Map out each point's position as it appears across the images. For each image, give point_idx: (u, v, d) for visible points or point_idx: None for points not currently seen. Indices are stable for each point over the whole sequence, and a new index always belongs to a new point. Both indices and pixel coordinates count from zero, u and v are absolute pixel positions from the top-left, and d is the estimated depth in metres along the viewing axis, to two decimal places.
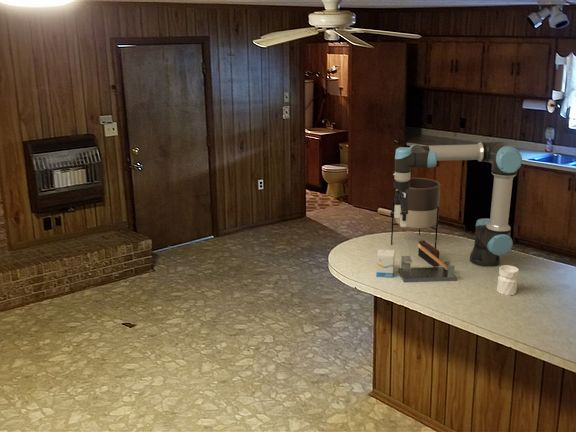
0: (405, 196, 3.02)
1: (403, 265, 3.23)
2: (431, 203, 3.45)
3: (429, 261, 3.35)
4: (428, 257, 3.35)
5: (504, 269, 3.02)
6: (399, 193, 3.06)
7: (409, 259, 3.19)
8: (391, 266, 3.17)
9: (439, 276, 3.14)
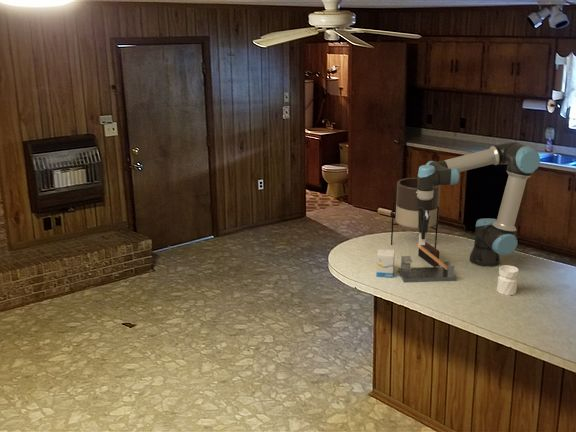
0: (427, 218, 3.01)
1: (403, 265, 3.23)
2: None
3: (429, 261, 3.35)
4: (428, 257, 3.35)
5: (504, 269, 3.02)
6: (422, 212, 3.04)
7: (409, 259, 3.19)
8: (391, 266, 3.17)
9: (439, 276, 3.14)
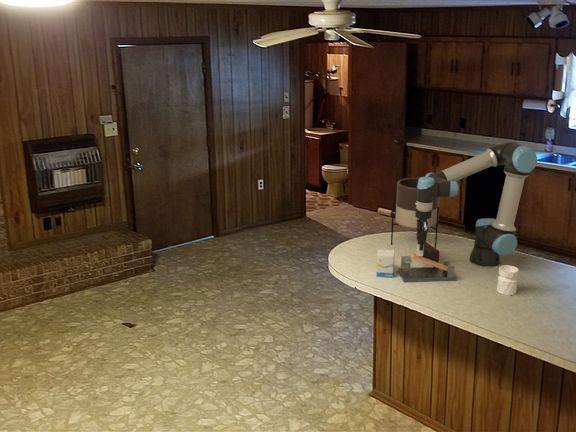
0: (426, 230, 3.03)
1: (403, 265, 3.23)
2: None
3: None
4: (428, 257, 3.35)
5: (504, 269, 3.02)
6: (420, 223, 3.06)
7: (409, 259, 3.19)
8: (391, 266, 3.17)
9: (439, 276, 3.14)
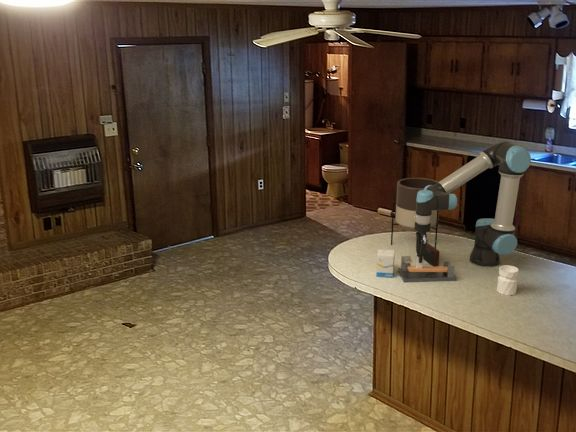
0: (425, 243, 3.05)
1: (403, 265, 3.23)
2: None
3: (429, 261, 3.35)
4: (428, 257, 3.35)
5: (504, 269, 3.02)
6: (419, 236, 3.08)
7: (409, 259, 3.19)
8: (391, 266, 3.17)
9: (439, 276, 3.14)
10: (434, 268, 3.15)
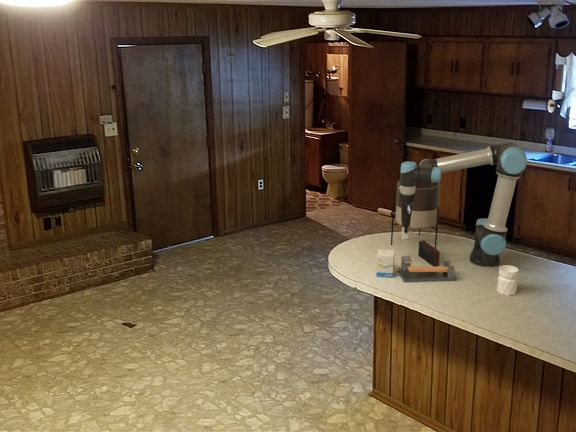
0: (409, 213, 3.14)
1: (403, 265, 3.23)
2: (431, 203, 3.45)
3: (429, 261, 3.35)
4: (428, 257, 3.35)
5: (504, 269, 3.02)
6: (404, 207, 3.17)
7: (409, 259, 3.19)
8: (391, 266, 3.17)
9: (439, 276, 3.14)
10: (434, 268, 3.15)
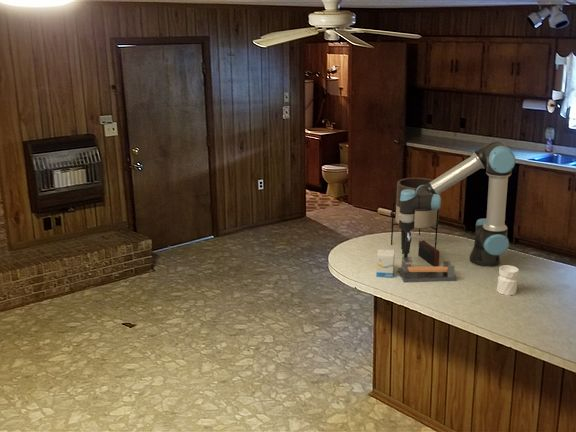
0: (409, 240, 3.15)
1: (404, 266, 3.21)
2: None
3: (429, 261, 3.35)
4: (428, 257, 3.35)
5: (504, 269, 3.02)
6: (404, 234, 3.18)
7: (410, 260, 3.17)
8: (391, 266, 3.17)
9: (439, 276, 3.14)
10: (434, 268, 3.15)
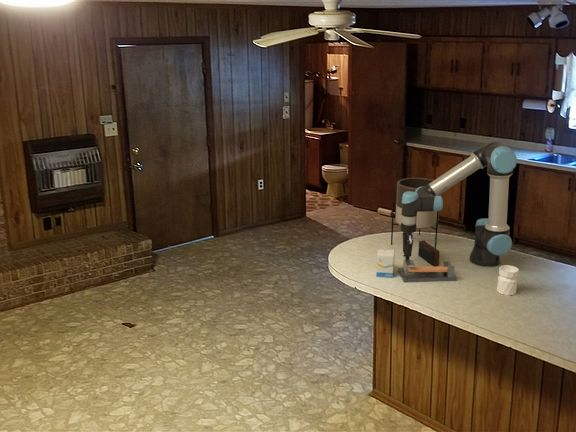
0: (411, 243, 3.12)
1: (405, 269, 3.18)
2: None
3: (429, 261, 3.35)
4: (428, 257, 3.35)
5: (504, 269, 3.02)
6: (406, 237, 3.14)
7: (411, 263, 3.14)
8: (391, 266, 3.17)
9: (439, 276, 3.14)
10: (434, 268, 3.15)
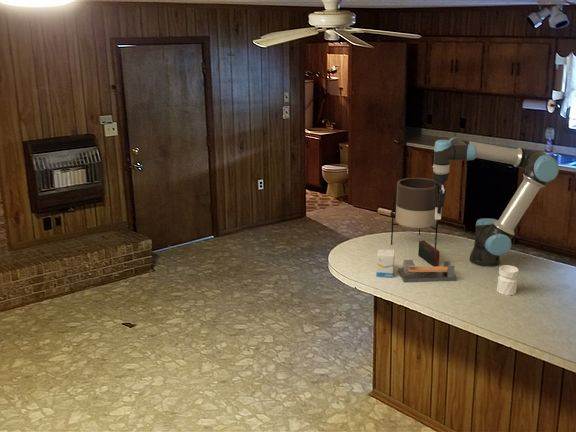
0: (443, 192, 3.05)
1: (405, 269, 3.18)
2: (431, 203, 3.45)
3: (429, 261, 3.35)
4: (428, 257, 3.35)
5: (504, 269, 3.02)
6: (438, 186, 3.08)
7: (411, 263, 3.14)
8: (391, 266, 3.17)
9: (439, 276, 3.14)
10: (434, 268, 3.15)
